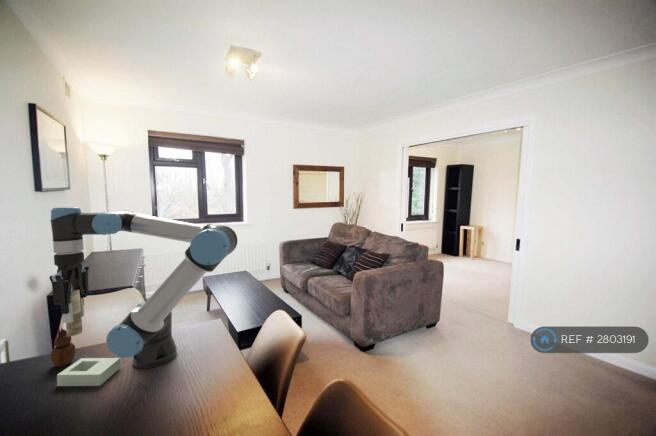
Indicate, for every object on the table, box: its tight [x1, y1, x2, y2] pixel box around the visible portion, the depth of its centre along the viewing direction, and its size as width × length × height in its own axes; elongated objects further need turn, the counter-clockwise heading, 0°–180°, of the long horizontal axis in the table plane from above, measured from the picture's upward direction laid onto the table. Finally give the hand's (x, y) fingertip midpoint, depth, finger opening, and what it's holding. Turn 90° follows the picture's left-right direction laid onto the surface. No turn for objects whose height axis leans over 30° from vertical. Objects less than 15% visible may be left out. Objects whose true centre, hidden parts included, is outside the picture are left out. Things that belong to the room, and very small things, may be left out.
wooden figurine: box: [50, 327, 76, 368], centre depth 106 cm, size 7×6×15 cm
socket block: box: [56, 357, 121, 387], centre depth 100 cm, size 14×10×4 cm
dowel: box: [65, 288, 83, 337], centre depth 96 cm, size 4×4×15 cm
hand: (74, 319), depth 96 cm, fingers closed on dowel, 4 cm apart
